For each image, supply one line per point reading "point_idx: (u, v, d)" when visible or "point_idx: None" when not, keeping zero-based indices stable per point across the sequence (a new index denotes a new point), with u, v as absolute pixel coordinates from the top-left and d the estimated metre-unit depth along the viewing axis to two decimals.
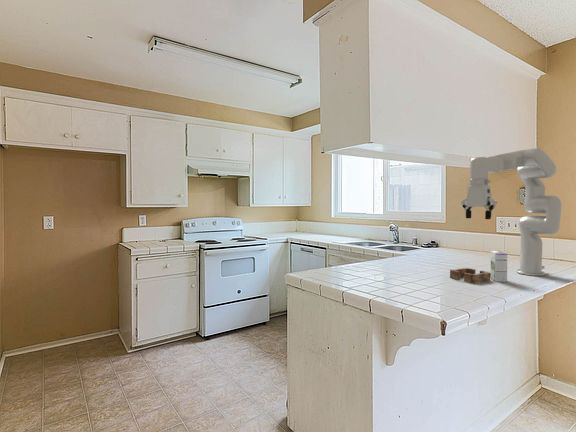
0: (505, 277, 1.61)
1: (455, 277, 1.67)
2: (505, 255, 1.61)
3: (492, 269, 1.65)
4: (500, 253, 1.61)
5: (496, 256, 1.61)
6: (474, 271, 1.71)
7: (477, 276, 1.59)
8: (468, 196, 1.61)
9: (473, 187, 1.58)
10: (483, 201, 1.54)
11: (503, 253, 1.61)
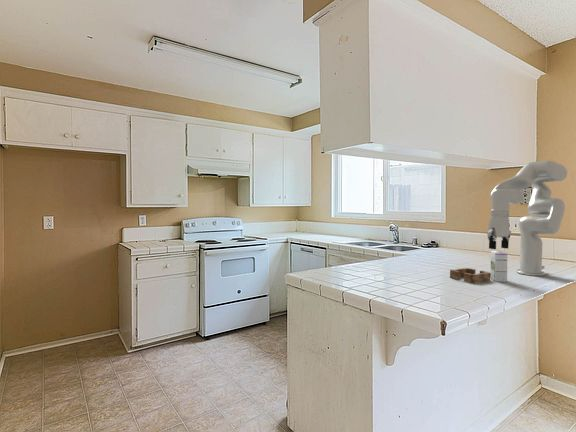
0: (505, 277, 1.61)
1: (455, 277, 1.67)
2: (505, 255, 1.61)
3: (492, 269, 1.65)
4: (500, 253, 1.61)
5: (496, 256, 1.61)
6: (474, 271, 1.71)
7: (477, 276, 1.59)
8: (499, 227, 1.59)
9: (503, 218, 1.60)
10: (508, 232, 1.63)
11: (503, 253, 1.61)
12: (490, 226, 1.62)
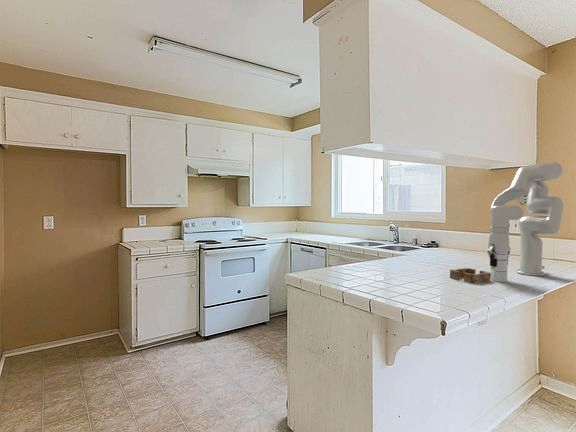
0: (505, 277, 1.61)
1: (455, 277, 1.67)
2: (505, 255, 1.61)
3: (492, 269, 1.65)
4: (500, 253, 1.61)
5: None
6: (474, 271, 1.71)
7: (477, 276, 1.59)
8: (499, 244, 1.60)
9: (503, 235, 1.61)
10: (508, 248, 1.63)
11: (503, 253, 1.61)
12: (490, 243, 1.63)
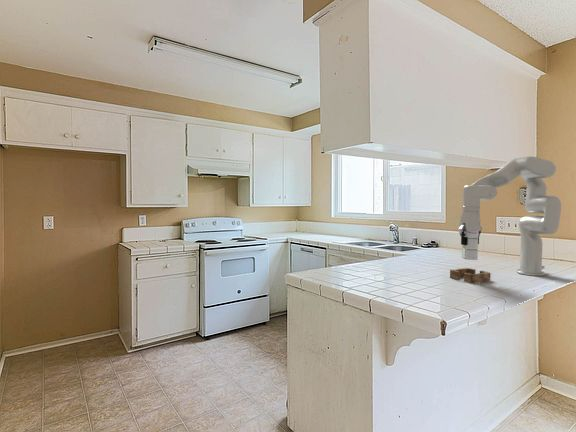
0: (475, 255, 1.63)
1: (455, 277, 1.67)
2: (476, 234, 1.63)
3: (463, 248, 1.67)
4: (471, 232, 1.63)
5: None
6: (474, 271, 1.71)
7: (477, 276, 1.59)
8: (469, 222, 1.62)
9: (474, 214, 1.63)
10: (479, 227, 1.66)
11: (474, 232, 1.63)
12: (461, 222, 1.65)
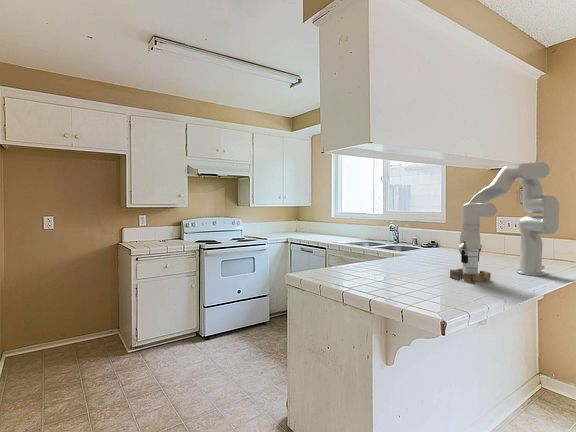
0: (476, 273, 1.64)
1: (455, 277, 1.67)
2: (476, 252, 1.63)
3: (464, 266, 1.67)
4: (471, 250, 1.64)
5: None
6: None
7: (477, 276, 1.59)
8: (469, 241, 1.63)
9: (474, 232, 1.63)
10: (479, 245, 1.66)
11: (474, 250, 1.64)
12: (461, 240, 1.65)
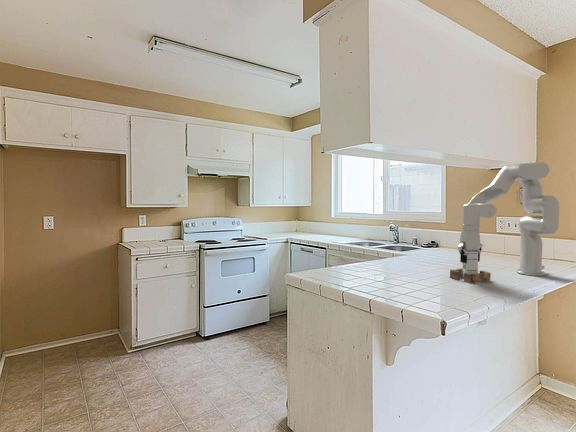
0: None
1: (455, 277, 1.67)
2: (476, 254, 1.63)
3: (464, 268, 1.67)
4: (471, 252, 1.64)
5: (467, 255, 1.64)
6: None
7: (477, 276, 1.59)
8: (469, 241, 1.63)
9: (474, 232, 1.63)
10: (479, 245, 1.66)
11: (474, 252, 1.63)
12: (461, 240, 1.65)
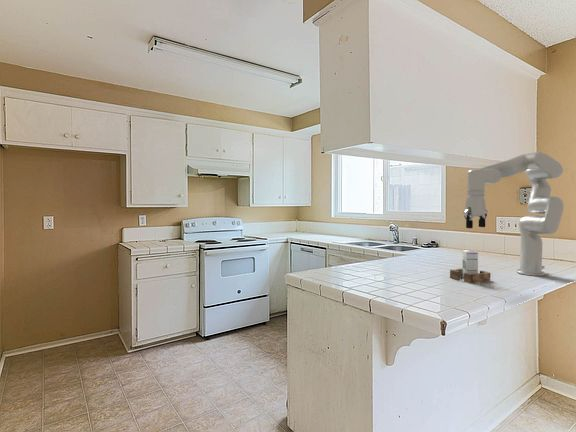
0: None
1: (455, 277, 1.67)
2: (476, 254, 1.63)
3: (464, 268, 1.67)
4: (471, 252, 1.64)
5: (467, 255, 1.64)
6: None
7: (477, 276, 1.59)
8: (475, 206, 1.63)
9: (479, 197, 1.64)
10: (484, 211, 1.67)
11: (474, 252, 1.63)
12: (466, 206, 1.66)
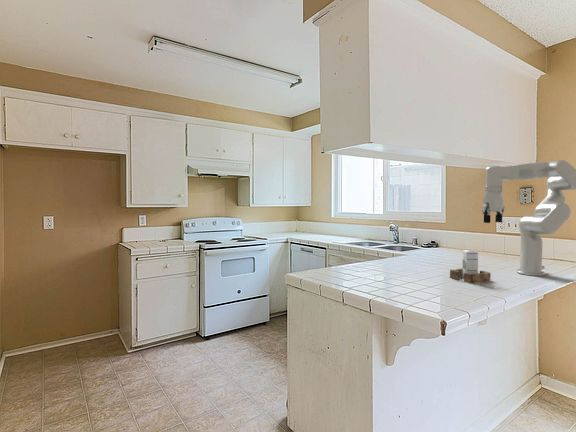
0: None
1: (455, 277, 1.67)
2: (476, 254, 1.63)
3: (464, 268, 1.67)
4: (471, 252, 1.64)
5: (467, 255, 1.64)
6: None
7: (477, 276, 1.59)
8: (493, 202, 1.69)
9: (497, 193, 1.70)
10: (501, 206, 1.73)
11: (474, 252, 1.63)
12: (484, 201, 1.72)
